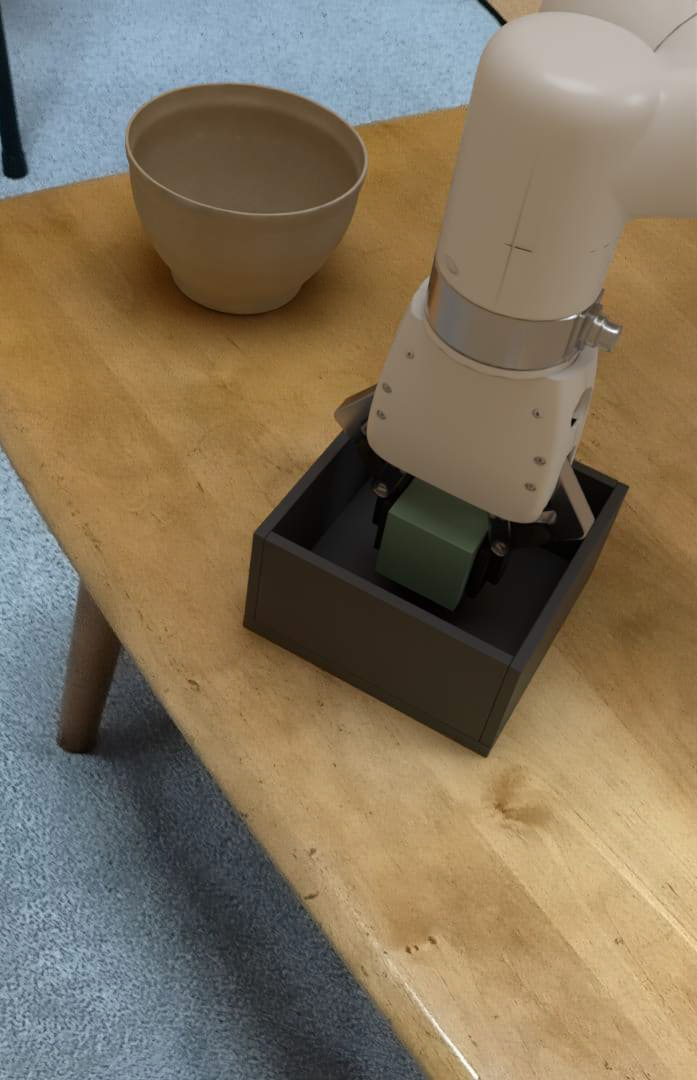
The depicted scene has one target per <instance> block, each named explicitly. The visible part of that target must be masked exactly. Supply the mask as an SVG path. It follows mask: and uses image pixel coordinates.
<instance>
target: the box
mask: <svg viewBox="0 0 697 1080" xmlns="http://www.w3.org/2000/svg"><path fill="white" fill-rule="evenodd" d="M488 534H489V532H488V515H487V511H485V510H483V509H481V508H478V507H476V506H474V505H472V504H470V503H468V502H466V501H464V500H462V499H460V498H458V497H456V496H454V495H452V494H449V493H447V492H445V491H443V490H441V489H439V488H437V487H435V486H433V485H431V484H429V483H427V482H425V481H423V480H421V479H419V478H417V477H415V478H414V479H413V480H412V482H411V483H410V484H409V485H408V487H407V488H406V489H405V491H404V492H403V493H402V495H401V496H400V497H399V498H398V500H397V501H396V502H395V504H394V505H393V506H392V508H391V509H390V510H389V512H388V516H387V520H386V524H385V529H384V533H383V537H382V541H381V546H380V550H379V554H378V558H377V563H376V567H375V571H376V572H378V573H380V574H381V575H383V576H385V577H387V578H389V579H391V580H393V581H395V582H397V583H399V584H401V585H403V586H405V587H407V588H409V589H410V590H412V591H414V592H416V593H418V594H420V595H422V596H424V597H426V598H428V599H430V600H432V601H434V602H436V603H438V604H440V605H441V606H443V607H445V608H447V609H449V610H451V611H454V610H455V609H456V607H457V606H458V604H459V603H460V601H461V600H462V598H463V597H464V595H465V594H466V592H464V591H465V588H466V585H467V582H468V579H469V576H470V572H471V569H472V566H473V563H474V560H475V557H476V554H477V551H478V549H479V548H480V546H481V544H482V543H483V541H484V540H485V539H486V537H487V536H488Z"/></svg>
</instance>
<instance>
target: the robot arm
mask: <svg viewBox="0 0 697 1080" xmlns="http://www.w3.org/2000/svg"><path fill="white" fill-rule="evenodd" d="M469 96H470V97H469V102H468V104H467V105H468V106H467V110H466V115H465V119H464V124H463V128H462V132H461V137H460V140H459V145H458V146H459V147H458V150H457V154H456V159H455V163H454V167H453V172H452V177H451V180H450V185H449V190H448V194H447V199H446V204H445V208H444V212H443V217H442V221H441V226H440V230H439V235H438V239H437V243H436V248H435V253H434V257H433V260H432V261H433V262H432V266H431V269H430V270H431V271H430V275H428V276H427V277H426V278H425V279H424V280H423V281H422V282H421V284H420V285H419V287H418V289H417V290H416V291H415V293H414V294H413V296H412V298H411V299H410V302H409V304H408V306H407V307H406V309H405V312H404V314H403V316H402V318H401V320H400V323H399V325H398V327H397V330H396V332H395V334H394V336H393V339H392V341H391V344H390V347H389V349H388V352H387V355H386V357H385V359H384V360H385V361H384V364H383V366H382V369H381V372H380V374H379V378H378V382H377V383H375V384H373V385H371V386H369V387H367V388H365V389H363V390H361V391H358V392H357V393H354V394H351V395H350V396H349V397H346V398H345V399H344V400H343V401H342V402H341V404H339V406H338V407H336V409H335V411H333V418H334V420H335V421H336V422H337V424H338V425H339V427H340V428H341V430H344V432H345V433H346V434H347V436H348V437H349V438H350V440H351V441H354V442H355V443H356V451H357V453H358V455H359V457H360V458H361V460H362V461H363V463H364V464H365V466H366V468H367V469H368V471H369V472H370V474H371V475H372V477H373V478H374V481H373V482H372V484H371V487H372V490H373V492H374V493H375V494H376V495H377V496H378V497H377V501H376V506H375V510H374V515H373V519H372V523H373V524H375V525H377V526H378V530H377V534H376V539H375V543H374V548H375V549H377V550H378V551H379V550H380V546H381V541H382V537H383V533H384V529H385V524H386V520H387V516H388V512H389V510H390V509H391V508H392V506H393V505H394V504H395V502H396V501H397V500H398V498H399V497H400V496H401V495H402V493H403V492H404V491H405V489H406V488H407V487H408V485H409V484H410V483H411V482H412V480H413V479H414V478H415V477H417V478H419V479H421V480H423V481H425V482H427V483H429V484H431V485H433V486H435V487H437V488H439V489H441V490H443V491H445V492H447V493H449V494H452V495H454V496H456V497H458V498H460V499H462V500H464V501H466V502H468V503H470V504H472V505H474V506H476V507H478V508H481V509H483V510H485V511H487V515H488V532H489V534H488V536H487V537H486V539H485V540H484V541H483V543H482V544H481V546H480V548H479V549H478V551H477V554H476V557H475V560H474V563H473V566H472V569H471V572H470V576H469V579H468V582H467V585H466V588H465V591H464V592H466V596H468V597H470V598H472V599H475V598H476V596H477V595H478V593H479V592H480V590H481V589H482V587H483V586H484V584H485V583H486V581H488V582H490V583H492V584H494V585H496V584H497V583H498V581H499V580H500V578H501V577H502V575H503V573H504V571H505V569H506V567H507V565H508V562H509V559H510V556H511V553H512V551H513V550H516V549H522V548H527V547H533V546H538V545H543V544H545V543H546V542H547V541H548V540H555V541H569V540H581V539H584V538H585V537H586V535H587V533H588V532H589V530H590V528H591V527H592V525H593V523H594V521H595V519H594V516H593V513H592V511H591V509H590V507H589V505H588V502H587V500H586V498H585V496H584V493H583V491H582V489H581V487H580V484H579V482H578V480H577V478H576V475H575V473H574V471H573V469H572V466H571V465H572V463H573V460H575V457H576V455H577V451H578V447H579V445H580V442H581V438H582V434H583V432H584V428H585V425H586V421H587V417H588V413H589V409H590V405H591V401H592V397H593V393H594V388H595V382H596V377H597V376H596V375H597V369H598V360H599V349H601V350H603V351H605V352H607V353H611V352H612V351H613V350H614V349H615V346H616V345H617V342H618V340H619V338H620V336H621V333H622V331H623V329H624V324H622V323H619V322H618V321H615V320H613V319H610V314H607V313H604V312H603V310H604V304H601V301H602V299H603V296H604V294H605V290H606V288H604V287H603V286H604V284H605V282H606V278H607V276H608V273H609V270H610V267H611V264H612V262H613V259H614V255H615V253H616V250H617V248H618V245H619V242H620V239H621V236H622V234H623V231H624V228H625V227H626V226H627V224H629V223H630V222H632V221H635V220H641V219H646V220H647V219H651V220H652V219H682V220H684V219H685V220H690V219H691V220H697V0H542V1H541V4H540V6H539V8H538V11H537V12H533V13H528V14H525V15H522V16H519V17H517V18H514V19H511V20H510V21H508V22H506V23H505V24H503V25H502V26H501V27H500V28H498V29H497V30H496V31H495V33H494V34H492V36H491V37H490V38H489V40H488V41H487V42H486V45H485V46H484V48H483V50H482V53H481V54H480V56H479V61H478V63H477V67H476V70H475V74H474V79H473V84H472V88H471V93H470V95H469ZM549 500H550V502H551V504H552V506H553V509H554V510H552V509H550V508H545V507H546V505H547V503H548V501H549Z"/></svg>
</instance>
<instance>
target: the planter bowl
mask: <svg viewBox="0 0 697 1080" xmlns="http://www.w3.org/2000/svg"><path fill="white" fill-rule="evenodd" d="M124 149H125V156H126V159H127V163H128V169H129V180H130V187H131V193H132V198H133V202H134V206H135V209H136V213H137V216H138V218H139V220H140V223H141V225H142V227H143V230H144V232H145V234H146V236H147V238H148V240H149V241H150V244H151V245H152V247H153V248H154V250H155V251H156V253H157V254H158V256H159V257H160V258H161V260H162V261H163V262H164V264H165V265H166V266H167V267H168V268H169V269H170V274H171V277H172V279H173V280H172V281H174V284H175V285H176V287H178V289H179V290H180V291H181V293H182V294H184V295H185V296H186V297H188V298H189V299H190V300H191V301H194V302H195V303H197V304H199V305H201V306H203V307H205V308H208V309H211V310H213V311H217V312H221V313H227V314H233V315H254V314H262V313H266V312H267V313H268V312H270V311H274V310H277V309H279V308H281V307H283V306H284V305H287V304H289V302H291V301H292V300H293V299H294V298H295V297H296V296H297V294H298V293H299V291H300V290H301V287H302V285H303V284H304V283H305V282H306V281H308V280H309V279H310V278H312V277H313V275H315V274H316V273H317V272H318V271H319V270H320V269H321V268H322V267H323V265H324V264H325V263H327V261H328V260H329V259H330V257H331V256H332V255H333V254H334V253H335V251H336V250H337V248H338V247H339V245H340V243H341V242H342V240H343V238H344V237H345V235H346V233H347V231H348V229H349V226H350V224H351V221H352V220H353V217H354V214H355V211H356V207H357V205H358V201H359V196H360V192H361V190H362V188H363V185H364V184H365V181H366V177H367V174H368V169H369V154H368V153H369V152H368V149H367V145H366V144H365V142H364V140H363V138H362V137H361V135H360V134H359V132H358V131H357V130H356V128H355V127H354V126H353V125H351V123H349V122H348V121H347V120H346V119H345V118H344V117H342V116H341V115H340V114H339V113H337V112H336V111H334V110H333V109H331V108H329V107H327V106H326V105H324V104H322V103H321V102H319V101H316V100H315V99H312V98H310V97H307V96H305V95H302V94H299V93H298V92H297V93H296V92H293V91H290V90H287V89H283V88H279V87H273V86H270V85H264V84H260V83H254V82H253V83H252V82H251V83H250V82H238V81H237V82H235V81H221V82H220V81H218V82H203V83H196V84H189V85H184V86H180V87H179V86H178V87H176V88H173V89H169V90H166V91H163V92H161V93H159V94H158V95H155V96H154V97H152V98H150V99H149V100H147V101H145V102H144V103H142V105H140V106H139V107H138V108H137V109H136V111H135V112H134V113H133V114H132V116H131V117H130V118H129V121H128V123H127V124H126V127H125V132H124Z"/></svg>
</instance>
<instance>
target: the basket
mask: <svg viewBox="0 0 697 1080" xmlns="http://www.w3.org/2000/svg"><path fill="white" fill-rule="evenodd" d="M571 466H572V469H573V471H574V473H575V475H576V478H577V480H578V482H579V484H580V487H581V489H582V491H583V493H584V496H585V498H586V500H587V502H588V505H589V507H590V509H591V511H592V513H593V516H594V519H595V521H594V523H593V525H592V527H591V528H590V530H589V532H588V533H587V535H586V537H585V538H584V539H581V540H569V541H555V540H548V541H547V542H546V543H545V544H543V545H538V546H533V547H527V548H522V549H516V550H513V551H512V553H511V556H510V559H509V562H508V565H507V567H506V569H505V571H504V573H503V575H502V577H501V578H500V580H499V581H498V583H497V584H496V585H494V584H492V583H490V582H488V581H486V583H485V584H484V586H483V587H482V589H481V590H480V592H479V593H478V595H477V596H476V598H475V599H472V598H470V597H468V596H466V594H465V595H464V597H463V598H462V600H461V601H460V603H459V604H458V606H457V607H456V609H455V610H454V611H451V610H449V609H447V608H445V607H443V606H441V605H440V604H438V603H436V602H434V601H432V600H430V599H428V598H426V597H424V596H422V595H420V594H418V593H416V592H414V591H412V590H410V589H409V588H407V587H405V586H403V585H401V584H399V583H397V582H395V581H393V580H391V579H389V578H387V577H385V576H383V575H381V574H380V573H378V572H376V571H375V567H376V563H377V558H378V554H379V551H378V550H377V549H375V548H374V543H375V539H376V534H377V530H378V526H377V525H375V524H373V523H372V519H373V515H374V510H375V506H376V501H377V497H378V496H377V495H376V494H375V493H374V492H373V490H372V487H371V484H372V482H373V481H374V478H373V477H372V475H371V474H370V472H369V471H368V469H367V468H366V466H365V464H364V463H363V461H362V460H361V458H360V457H359V455H358V453H357V451H356V443H355V442H354V441H351V440H350V438H349V437H348V436H347V434H346V433H345V432H344V430H343V429H341V431H340V432H339V433H338V434H337V436H336V437H335V438H334V439H333V440H332V441H331V443H330V444H329V445H328V446H327V447H326V448H325V450H324V451H323V452H322V453H321V454H320V455H319V457H317V459H316V460H315V461H314V462H313V463H312V465H310V467H309V468H308V469H307V470H306V471H305V473H304V474H303V475H302V476H301V477H300V478H299V479H298V481H297V482H296V483H295V484H294V485H293V487H292V488H291V489H290V490H289V491H288V492H287V494H285V496H284V497H283V498H282V499H281V500H280V501H279V503H278V504H277V505H276V506H275V507H274V508H273V509H272V511H271V512H270V513H269V514H268V515H267V516H266V518H265V519H264V520H263V521H262V522H261V523H260V524H259V526H258V527H257V528H256V529H255V530H254V531H253V533H252V542H251V551H250V560H249V569H248V576H247V577H248V578H247V587H246V596H245V597H246V598H245V604H244V614H243V621H242V626H243V627H244V628H246V629H248V630H250V631H252V632H254V633H255V634H257V635H259V636H261V637H262V638H265V639H266V640H268V641H270V642H272V643H274V644H276V645H278V646H279V647H281V648H283V649H285V650H287V651H289V652H290V653H292V654H294V655H296V656H297V657H300V658H301V659H303V660H305V661H307V662H309V663H311V664H312V665H315V666H316V667H317V668H320V669H322V670H323V671H326V672H327V673H329V674H331V675H333V676H335V677H336V678H338V679H340V680H342V681H344V682H345V683H347V684H350V685H351V686H353V687H355V688H356V689H359V690H360V691H362V692H364V693H366V694H367V695H370V696H371V697H373V698H375V699H377V700H379V701H380V702H383V703H385V704H386V705H389V706H390V707H391V708H393V709H396V710H397V711H399V712H401V713H402V714H405V715H407V716H408V717H410V718H412V719H414V720H416V721H417V722H419V723H421V724H423V725H424V726H427V727H429V728H430V729H432V730H435V731H436V732H437V733H439V734H441V735H443V736H445V737H447V738H449V739H450V740H452V741H454V742H456V743H458V744H460V745H462V746H463V747H466V748H467V749H469V750H471V751H473V752H474V753H477V754H479V755H480V756H482V757H484V758H488V756H489V754H490V753H491V751H492V750H493V748H494V746H495V744H496V743H497V740H498V739H499V737H500V735H501V734H502V732H503V730H504V728H505V727H506V725H507V723H508V721H509V720H510V718H511V716H512V714H513V713H514V711H515V709H516V707H517V705H518V704H519V702H520V700H521V698H522V697H523V695H524V693H525V691H526V689H528V687H529V685H530V683H531V681H532V679H533V677H534V675H535V674H536V673H537V670H538V669H539V667H540V666H541V663H542V662H543V660H544V658H545V657H546V655H547V653H548V651H549V649H550V647H551V646H552V644H553V642H554V641H555V639H556V637H557V635H558V634H559V632H560V630H561V628H562V627H563V625H564V623H565V622H566V620H567V618H568V616H569V614H570V613H571V611H572V609H573V607H574V606H575V604H576V603H577V601H578V599H579V597H580V595H581V594H582V592H583V590H584V589H585V587H586V584H587V583H588V581H589V579H590V578H591V575H592V573H593V571H594V569H595V567H596V564H597V562H598V561H599V557H600V555H601V553H602V551H603V549H604V546H605V544H606V542H607V540H608V538H609V535H610V533H611V530H612V528H613V526H614V523H615V521H616V519H617V518H618V517H617V516H618V514H619V512H620V510H621V507H622V505H623V503H624V501H625V498H626V496H627V494H628V491H629V489H630V486H629V485H628V484H627V483H624V482H622V481H619V480H618V479H616V478H613V476H612V477H611V476H610V475H608V474H606V473H603V472H601V471H599V470H597V469H595V468H592V467H590V466H588V465H587V464H584V463H582V462H581V461H577V460H576V459H574V460H573V463H572V465H571ZM545 508H550V509H552V510H554V509H553V506H552V504H551V502H550V500H549V501H548V503H547V505H546V507H545Z"/></svg>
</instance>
